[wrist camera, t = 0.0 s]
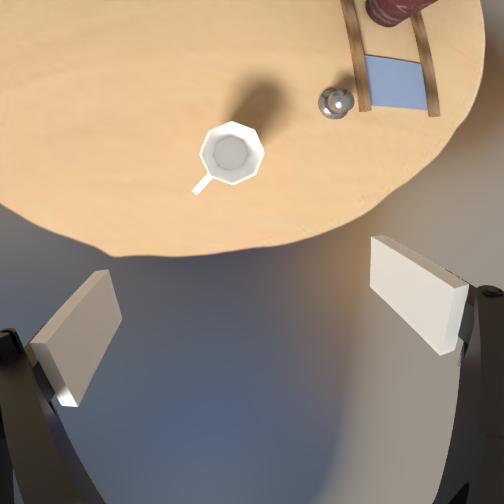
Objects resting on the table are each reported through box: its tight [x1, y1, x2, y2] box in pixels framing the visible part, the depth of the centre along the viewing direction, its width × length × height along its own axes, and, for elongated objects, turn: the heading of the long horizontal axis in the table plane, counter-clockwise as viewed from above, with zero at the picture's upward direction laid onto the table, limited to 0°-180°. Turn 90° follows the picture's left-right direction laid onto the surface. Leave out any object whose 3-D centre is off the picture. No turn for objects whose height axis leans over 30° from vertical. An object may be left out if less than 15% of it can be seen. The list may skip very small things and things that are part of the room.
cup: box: [192, 121, 265, 195], centre depth 36 cm, size 7×10×8 cm
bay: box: [341, 0, 440, 117], centre depth 35 cm, size 24×14×2 cm, turn 6°
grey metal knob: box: [318, 89, 354, 119], centre depth 36 cm, size 4×4×4 cm
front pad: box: [364, 55, 427, 110], centre depth 38 cm, size 8×11×1 cm
